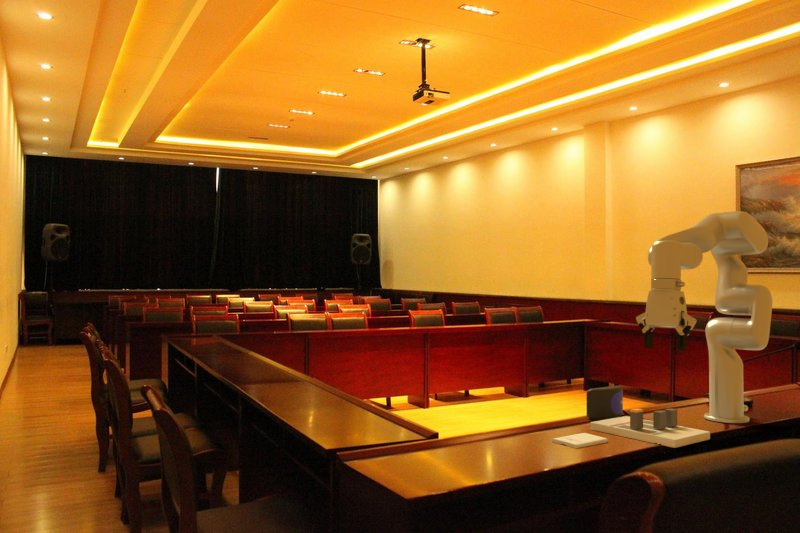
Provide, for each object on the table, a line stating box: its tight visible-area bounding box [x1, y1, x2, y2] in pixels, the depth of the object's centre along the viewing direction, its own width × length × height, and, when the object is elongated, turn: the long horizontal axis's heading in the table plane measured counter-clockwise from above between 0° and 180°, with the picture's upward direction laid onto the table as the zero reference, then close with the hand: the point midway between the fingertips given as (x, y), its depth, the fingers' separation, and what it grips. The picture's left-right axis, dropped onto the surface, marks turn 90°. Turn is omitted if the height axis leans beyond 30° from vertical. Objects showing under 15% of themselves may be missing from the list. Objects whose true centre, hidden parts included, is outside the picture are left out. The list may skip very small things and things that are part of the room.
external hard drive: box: [551, 432, 609, 449], centre depth 170 cm, size 2×8×12 cm
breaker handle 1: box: [652, 409, 666, 429], centre depth 177 cm, size 3×2×4 cm, turn 126°
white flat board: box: [589, 415, 711, 449], centre depth 180 cm, size 17×26×2 cm, turn 36°
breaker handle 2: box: [664, 407, 678, 427], centre depth 181 cm, size 3×2×4 cm, turn 126°
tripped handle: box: [629, 407, 644, 429], centre depth 177 cm, size 3×2×5 cm, turn 126°
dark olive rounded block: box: [586, 385, 624, 421], centre depth 203 cm, size 16×5×9 cm, turn 124°
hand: (664, 349), depth 176 cm, fingers open, 9 cm apart
